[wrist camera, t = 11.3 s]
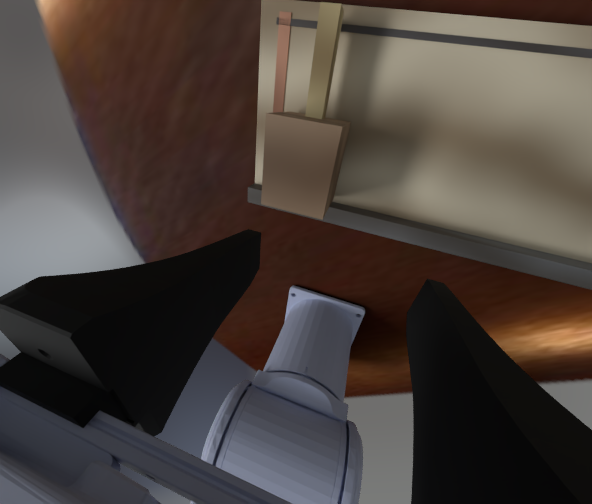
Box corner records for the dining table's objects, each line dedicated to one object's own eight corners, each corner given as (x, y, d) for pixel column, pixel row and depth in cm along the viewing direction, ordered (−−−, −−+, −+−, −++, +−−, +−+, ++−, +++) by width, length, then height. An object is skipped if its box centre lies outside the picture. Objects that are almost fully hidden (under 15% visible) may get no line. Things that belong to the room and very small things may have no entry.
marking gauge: (333, 198, 18) (322, 219, 14) (282, 186, 18) (260, 204, 15) (375, 18, 12) (372, -14, 9) (300, 11, 13) (272, -21, 10)
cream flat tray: (639, 287, 16) (679, 315, 14) (261, 194, 21) (247, 204, 19) (915, 66, 10) (1072, 55, 7) (271, 6, 15) (252, -12, 12)
